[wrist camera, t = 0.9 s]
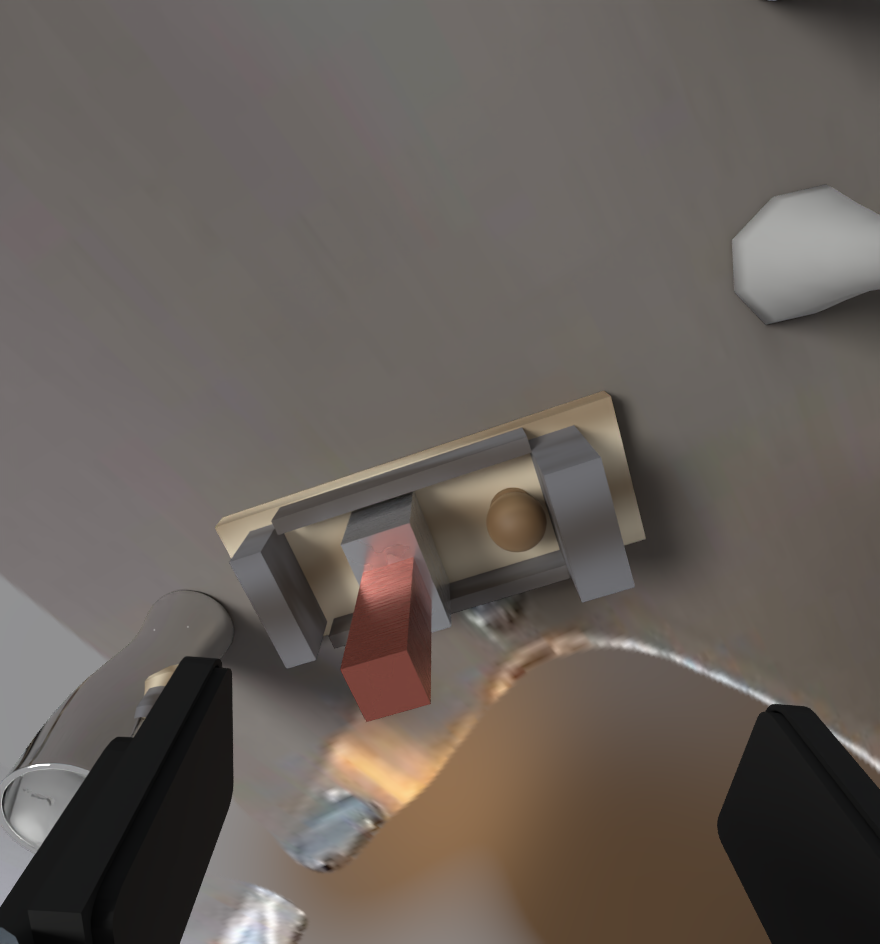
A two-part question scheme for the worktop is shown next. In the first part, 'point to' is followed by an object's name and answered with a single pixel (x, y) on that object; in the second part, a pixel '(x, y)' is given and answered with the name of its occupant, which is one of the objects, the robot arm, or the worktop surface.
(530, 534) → the walnut
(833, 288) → the flask
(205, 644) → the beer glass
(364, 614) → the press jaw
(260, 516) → the cracker board
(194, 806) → the robot arm
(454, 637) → the worktop surface
